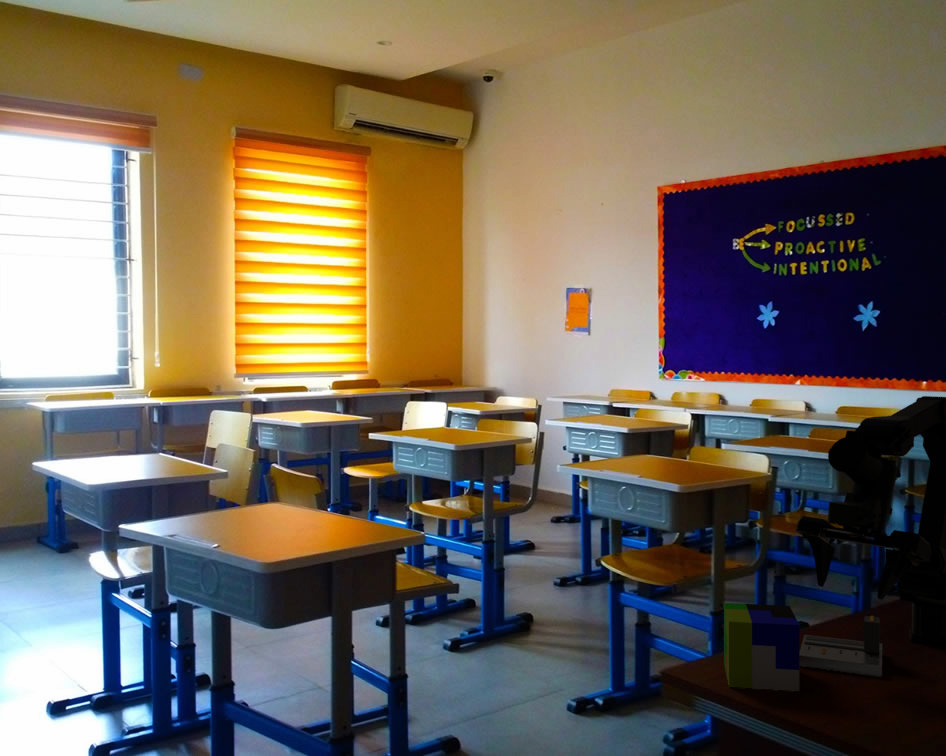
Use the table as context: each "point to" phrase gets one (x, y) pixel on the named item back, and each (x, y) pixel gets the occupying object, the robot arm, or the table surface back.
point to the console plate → (839, 656)
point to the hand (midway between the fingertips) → (849, 592)
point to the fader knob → (871, 634)
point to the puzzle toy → (761, 646)
